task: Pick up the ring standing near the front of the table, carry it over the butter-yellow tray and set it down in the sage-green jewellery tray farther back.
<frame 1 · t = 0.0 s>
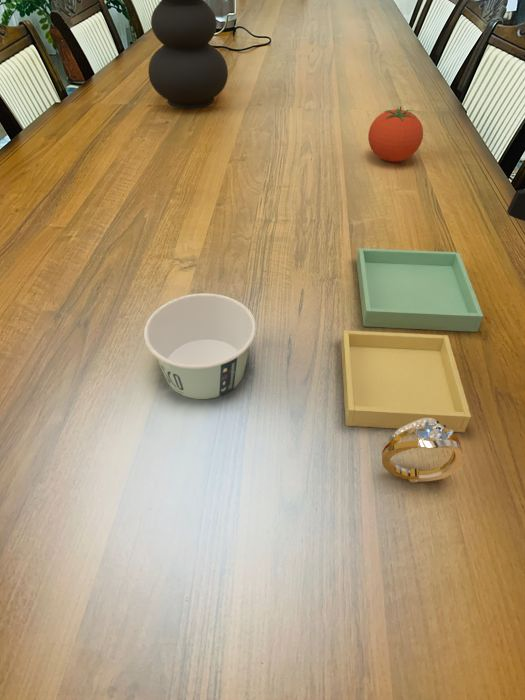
yellow tray: (397, 385, 57), on the table
tomato: (390, 160, 101), on the table
ring: (412, 479, 49), on the table
food container: (205, 370, 59), on the table
vase: (191, 104, 124), on the table
green tray: (412, 294, 69), on the table
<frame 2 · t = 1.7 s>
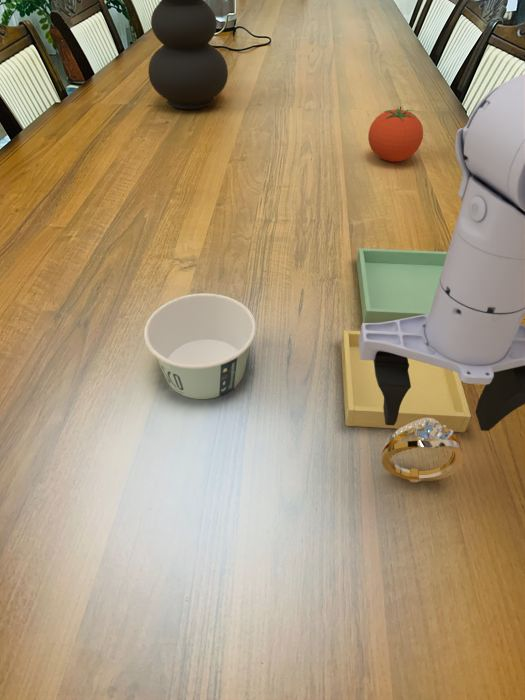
hand: (435, 418, 42), 9 cm above the table, tool pointing down, fingers open, 7 cm apart
nothing on the table moved.
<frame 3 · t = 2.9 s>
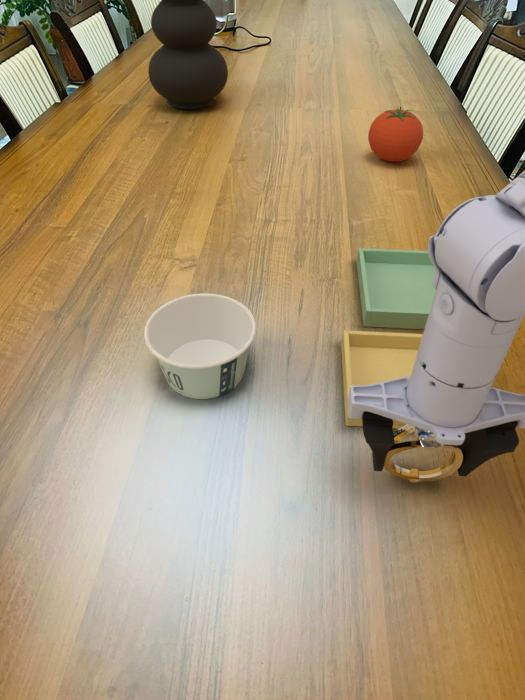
hand: (417, 464, 47), 2 cm above the table, tool pointing down, fingers closed on ring, 7 cm apart
ring: (412, 479, 49), on the table, touching gripper
everything else where it was.
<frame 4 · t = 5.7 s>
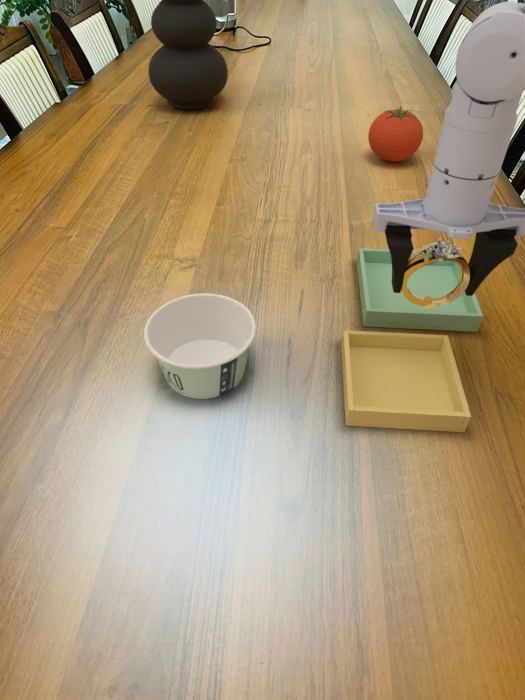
hand: (431, 288, 55), 9 cm above the table, tool pointing down, fingers closed on ring, 7 cm apart
ring: (425, 307, 57), point 7 cm above the table, touching gripper
everything else where it was.
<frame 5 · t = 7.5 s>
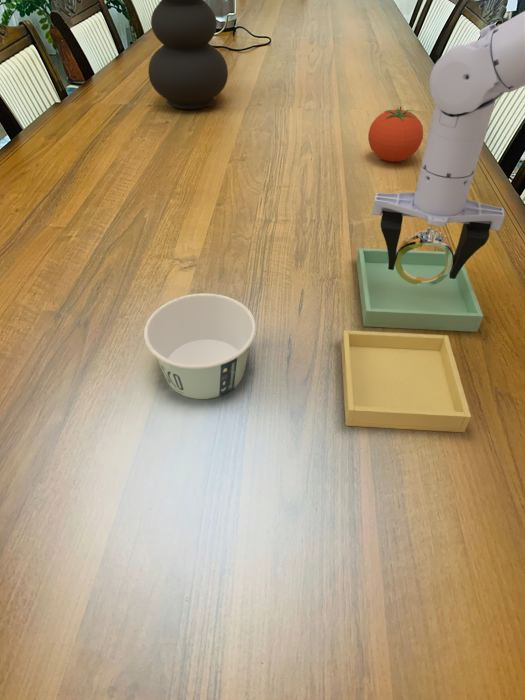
hand: (421, 269, 65), 5 cm above the table, tool pointing down, fingers closed on ring, 7 cm apart
ring: (417, 286, 67), point 2 cm above the table, touching gripper
everything else where it was.
when the fingers open (3 cm above the table, at t = 8.8 s): ring stays where it is, resting on green tray.
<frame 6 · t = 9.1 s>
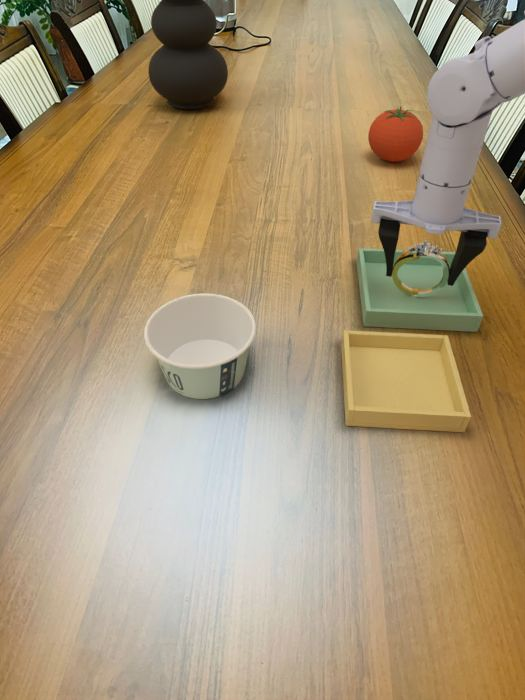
hand: (419, 276, 66), 4 cm above the table, tool pointing down, fingers open, 7 cm apart
ring: (414, 297, 68), resting on green tray, touching gripper
everything else where it was.
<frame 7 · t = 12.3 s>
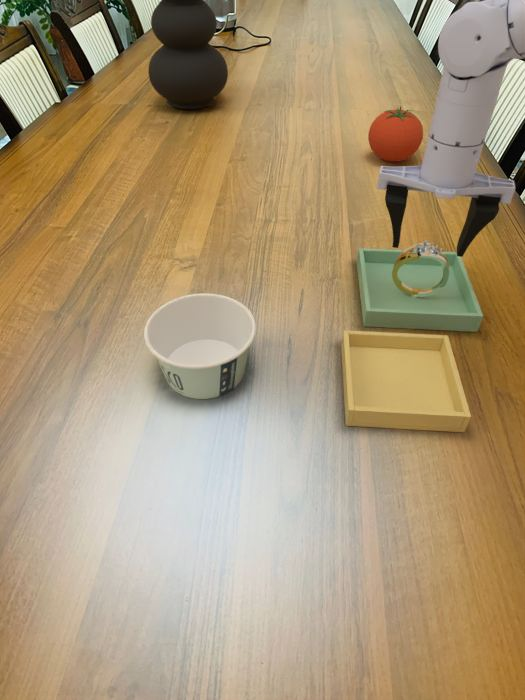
hand: (427, 247, 63), 8 cm above the table, tool pointing down, fingers open, 7 cm apart
ring: (414, 297, 68), resting on green tray
everything else where it was.
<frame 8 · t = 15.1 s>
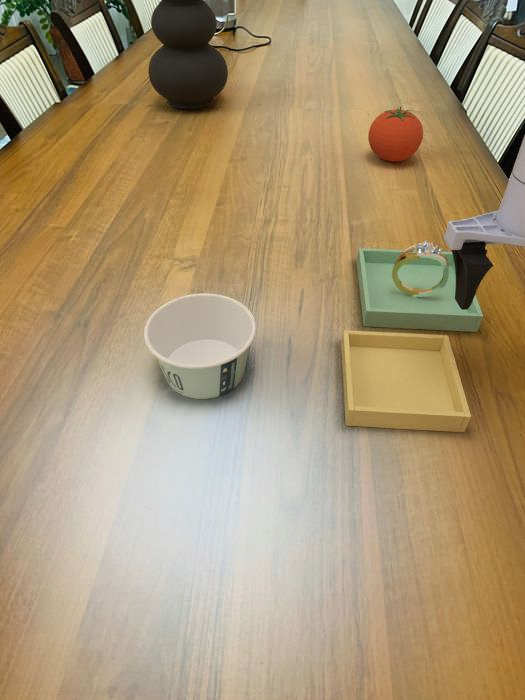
hand: (496, 301, 53), 9 cm above the table, tool pointing down, fingers open, 7 cm apart
nothing on the table moved.
at the end: ring inside the target area in the green tray (1.0 cm from its centre), point 0.4 cm above the green tray's base; ring touching green tray; the gripper is holding nothing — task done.
